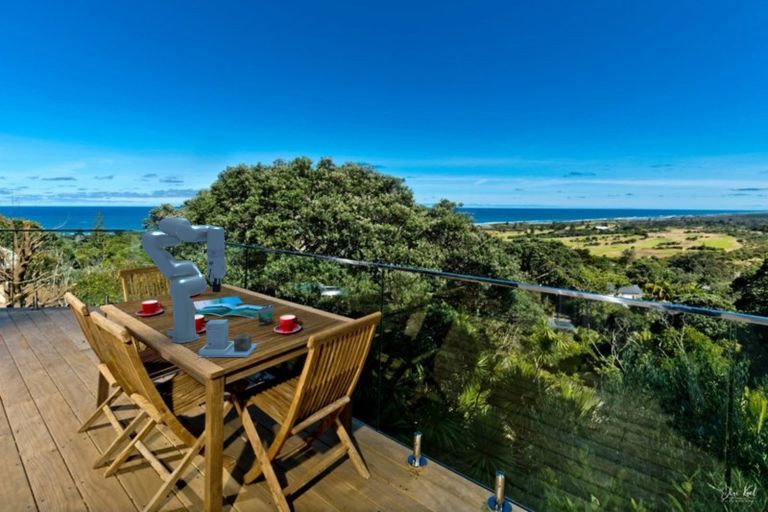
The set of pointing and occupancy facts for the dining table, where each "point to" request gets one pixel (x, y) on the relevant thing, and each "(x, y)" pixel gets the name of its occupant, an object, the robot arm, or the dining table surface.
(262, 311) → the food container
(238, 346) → the dark gray block
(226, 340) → the small box
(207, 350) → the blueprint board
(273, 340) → the dining table surface
